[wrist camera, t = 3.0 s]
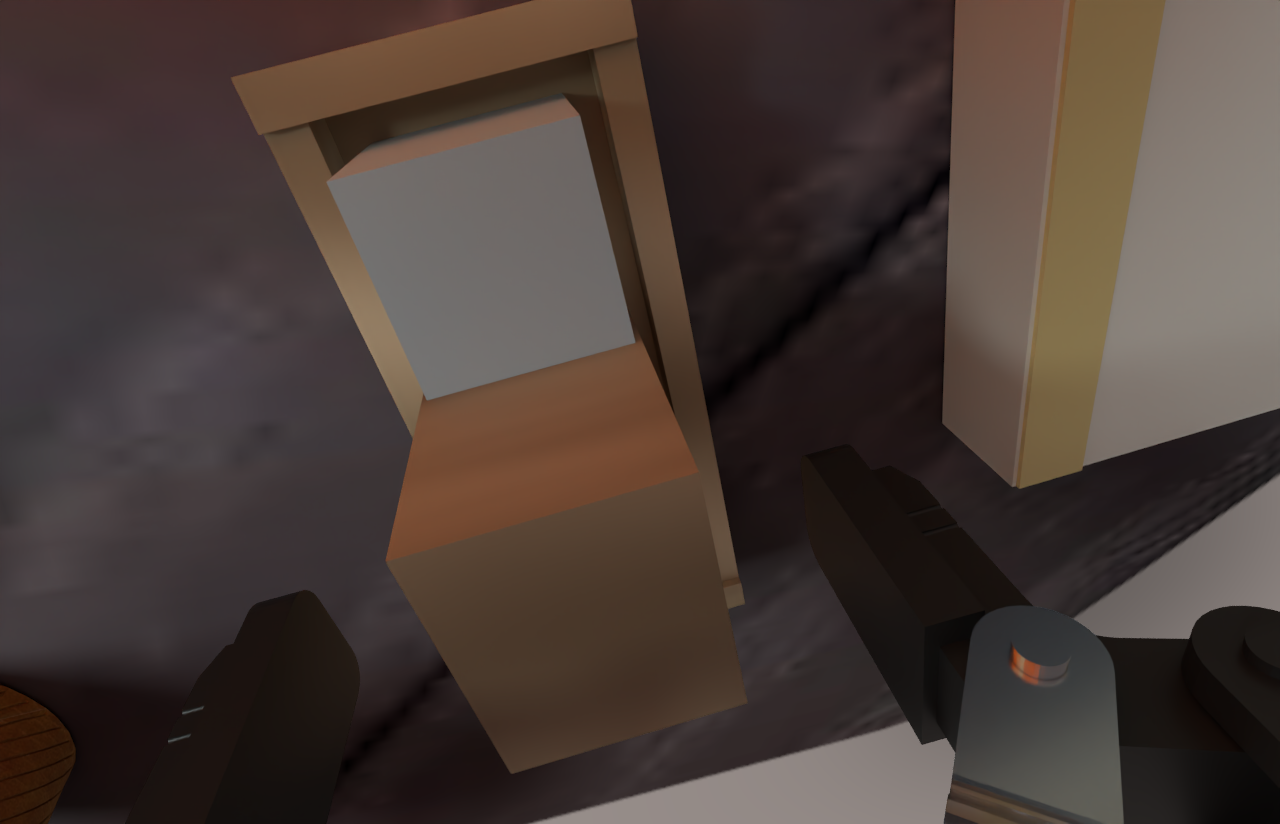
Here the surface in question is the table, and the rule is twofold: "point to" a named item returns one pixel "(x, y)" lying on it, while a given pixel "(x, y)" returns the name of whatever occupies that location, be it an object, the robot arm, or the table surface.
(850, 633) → the table surface
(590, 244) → the block
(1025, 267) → the strip
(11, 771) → the disposable coffee cup
